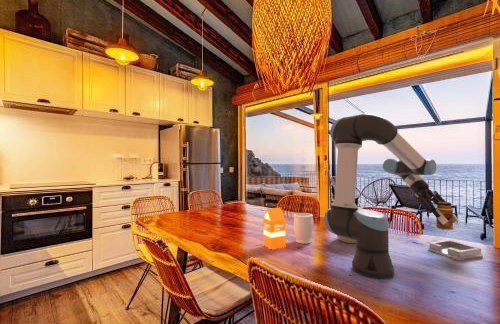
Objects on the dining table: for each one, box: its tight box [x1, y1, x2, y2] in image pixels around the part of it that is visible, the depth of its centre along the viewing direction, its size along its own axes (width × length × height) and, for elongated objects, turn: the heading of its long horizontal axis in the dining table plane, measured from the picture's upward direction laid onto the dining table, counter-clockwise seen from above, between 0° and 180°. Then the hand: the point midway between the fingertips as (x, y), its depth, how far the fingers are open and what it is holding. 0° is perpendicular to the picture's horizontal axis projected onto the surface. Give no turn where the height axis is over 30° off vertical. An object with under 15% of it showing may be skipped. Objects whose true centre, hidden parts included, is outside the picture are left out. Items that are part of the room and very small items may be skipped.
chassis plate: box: [427, 239, 484, 261], centre depth 116 cm, size 15×14×4 cm
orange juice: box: [263, 207, 286, 250], centre depth 130 cm, size 8×9×20 cm
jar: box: [293, 212, 314, 245], centre depth 137 cm, size 11×10×15 cm
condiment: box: [430, 201, 457, 231], centre depth 117 cm, size 7×8×12 cm
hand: (450, 222), depth 113 cm, fingers closed on condiment, 6 cm apart
